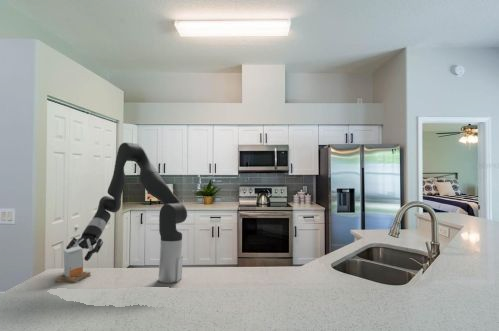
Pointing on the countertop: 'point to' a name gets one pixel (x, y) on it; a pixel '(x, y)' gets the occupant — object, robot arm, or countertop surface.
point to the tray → (72, 278)
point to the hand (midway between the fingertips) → (76, 259)
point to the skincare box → (73, 262)
